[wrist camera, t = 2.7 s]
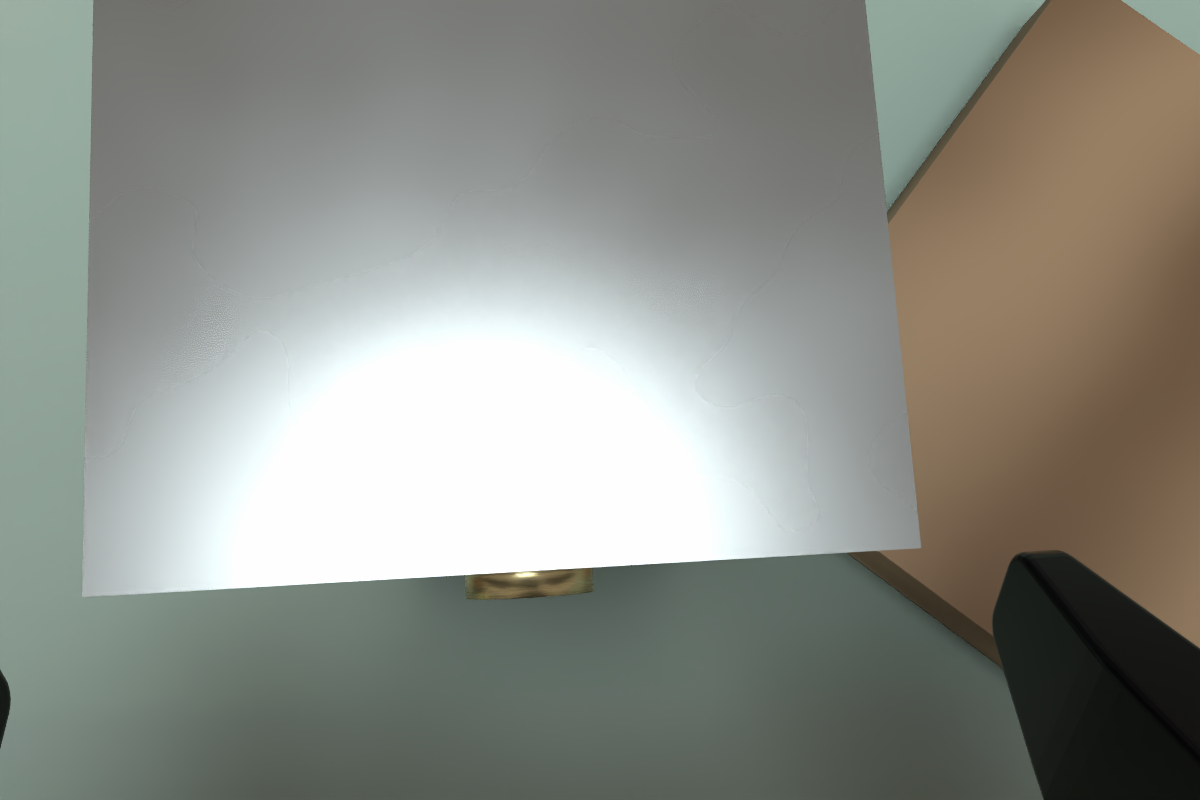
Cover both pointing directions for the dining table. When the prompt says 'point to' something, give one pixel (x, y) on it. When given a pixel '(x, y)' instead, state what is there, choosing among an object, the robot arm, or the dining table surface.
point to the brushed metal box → (485, 292)
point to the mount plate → (1056, 323)
